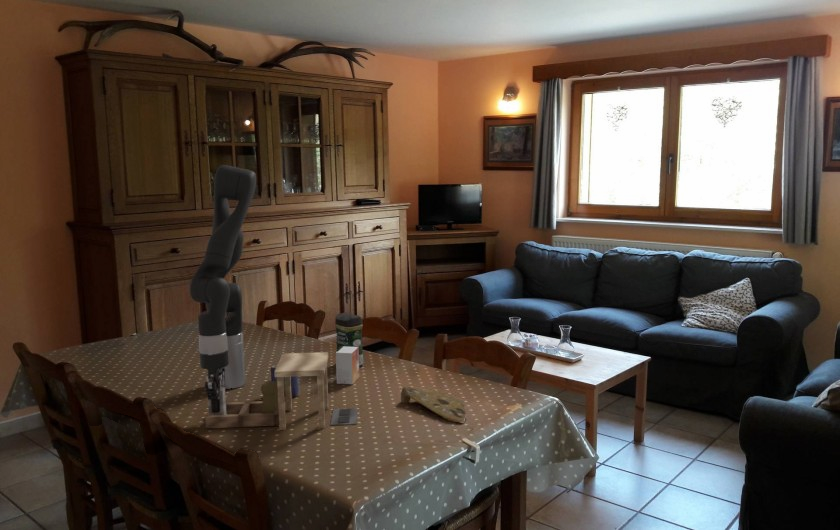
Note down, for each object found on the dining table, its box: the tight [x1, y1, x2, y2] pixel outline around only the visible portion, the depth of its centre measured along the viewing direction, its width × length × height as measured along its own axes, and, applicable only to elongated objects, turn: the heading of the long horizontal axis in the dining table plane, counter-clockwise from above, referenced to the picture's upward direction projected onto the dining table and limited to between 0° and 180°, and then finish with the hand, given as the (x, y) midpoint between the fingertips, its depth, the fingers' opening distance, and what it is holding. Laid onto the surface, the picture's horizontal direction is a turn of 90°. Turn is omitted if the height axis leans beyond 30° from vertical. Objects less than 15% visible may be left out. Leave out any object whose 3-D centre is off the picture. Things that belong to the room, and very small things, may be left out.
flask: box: [270, 363, 300, 398], centre depth 205 cm, size 9×3×11 cm, turn 74°
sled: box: [205, 387, 279, 429], centre depth 185 cm, size 20×11×9 cm, turn 94°
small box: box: [335, 346, 360, 385], centre depth 219 cm, size 8×6×10 cm
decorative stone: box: [400, 386, 466, 423], centre depth 194 cm, size 25×15×5 cm, turn 37°
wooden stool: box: [274, 351, 358, 431], centre depth 186 cm, size 21×17×16 cm
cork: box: [260, 380, 279, 413], centre depth 185 cm, size 6×6×11 cm
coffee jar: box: [334, 312, 364, 368], centre depth 235 cm, size 10×8×19 cm
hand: (217, 409), depth 185 cm, fingers closed on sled, 3 cm apart
